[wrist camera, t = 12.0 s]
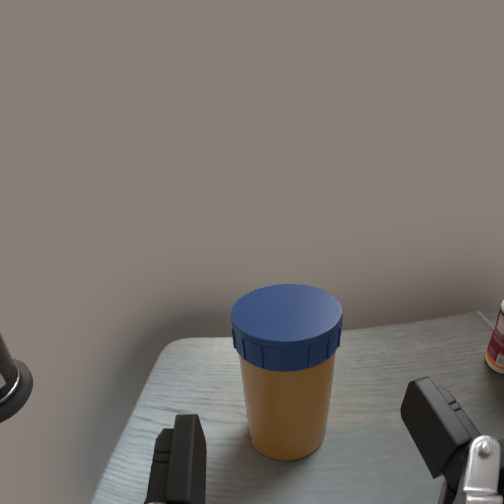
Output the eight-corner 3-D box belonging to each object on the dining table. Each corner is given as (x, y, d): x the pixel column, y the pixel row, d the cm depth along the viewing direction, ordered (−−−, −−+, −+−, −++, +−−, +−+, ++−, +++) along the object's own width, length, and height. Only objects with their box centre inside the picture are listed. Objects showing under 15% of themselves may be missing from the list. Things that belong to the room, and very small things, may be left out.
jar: (253, 465, 17) (238, 352, 14) (246, 409, 23) (232, 296, 19) (333, 452, 18) (354, 334, 14) (315, 399, 23) (321, 285, 19)
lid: (323, 305, 20) (324, 279, 19) (355, 361, 14) (359, 331, 14) (232, 315, 20) (229, 289, 19) (236, 379, 14) (231, 348, 13)
